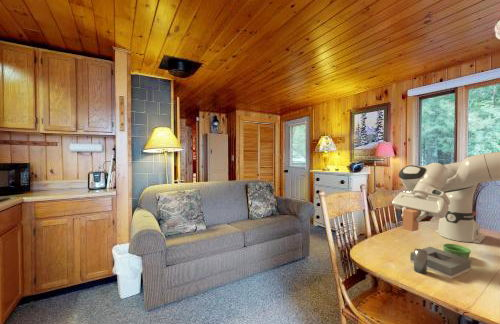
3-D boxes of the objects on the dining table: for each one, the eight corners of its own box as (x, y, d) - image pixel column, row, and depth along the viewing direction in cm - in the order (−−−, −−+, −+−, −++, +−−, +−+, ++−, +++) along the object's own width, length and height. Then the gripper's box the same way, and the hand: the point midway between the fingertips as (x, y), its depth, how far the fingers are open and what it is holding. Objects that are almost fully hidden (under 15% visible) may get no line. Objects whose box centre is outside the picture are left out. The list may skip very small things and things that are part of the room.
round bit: (417, 267, 93) (418, 247, 92) (429, 272, 89) (429, 251, 89) (411, 270, 91) (412, 249, 91) (422, 274, 87) (423, 254, 87)
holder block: (429, 255, 103) (430, 246, 103) (470, 270, 90) (470, 259, 90) (410, 262, 97) (410, 252, 97) (450, 278, 84) (451, 268, 84)
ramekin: (444, 251, 107) (445, 241, 107) (471, 257, 101) (472, 247, 100) (440, 257, 101) (441, 247, 101) (469, 264, 95) (469, 254, 95)
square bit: (408, 227, 102) (409, 208, 102) (418, 229, 98) (418, 211, 98) (402, 228, 100) (402, 209, 100) (412, 231, 97) (412, 212, 96)
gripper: (398, 186, 111) (383, 208, 107) (449, 193, 92) (433, 221, 89) (404, 194, 113) (389, 217, 109) (455, 203, 94) (440, 231, 91)
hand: (409, 219), depth 99 cm, fingers closed on square bit, 4 cm apart
